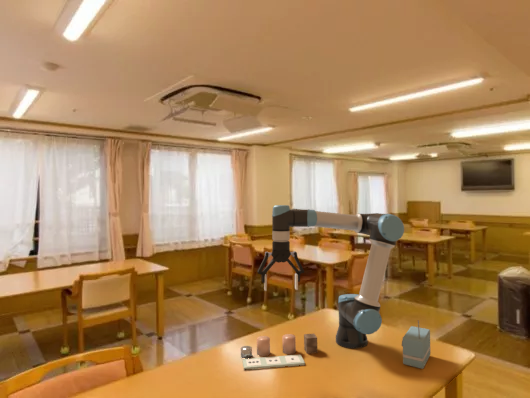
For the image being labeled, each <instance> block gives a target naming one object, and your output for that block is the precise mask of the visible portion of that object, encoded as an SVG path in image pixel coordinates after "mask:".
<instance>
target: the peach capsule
mask: <svg viewBox="0 0 530 398" xmlns="http://www.w3.org/2000/svg"><path fill="white" fill-rule="evenodd" d="M296 343H297V342H296V335H294V334H292V333H286V334H283V335H282V353H283V354H284V355H288V354H289V355H295V354H296V352H297V350H296V346H297V345H296Z"/></svg>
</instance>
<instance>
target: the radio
mask: <svg viewBox="0 0 530 398" xmlns="http://www.w3.org/2000/svg"><path fill="white" fill-rule="evenodd" d="M401 340H402V341H401V347H402V363H403V365H406V366H409V367H413V368H417V369H424V368H425V366H426V364H427V362H428V361H429V358H430V355H431V329H428V328H425V327H423V328H422V327H420V320H417V326H415V325H414V326H413V325H411V326H410V327H409V329H408V330H407V332H406V333H405V334H404V335H403V336H402V339H401Z"/></svg>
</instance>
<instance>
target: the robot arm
mask: <svg viewBox="0 0 530 398" xmlns="http://www.w3.org/2000/svg"><path fill="white" fill-rule="evenodd" d="M271 217H272V221H271V222H272V224H271V225H272V229H271V230H272V231H271V232H272V235H271V236H272V238H271V239H272V244H271V245H272V247H271V248H272V249H271V252H268V251H265V252H264V257H263V260H262V262H261V264H260V265H259V267H258V269H257V274H258V275H261V282H262V283H263V286H264V287H263V289H264V290H263V291H264V292H267V291H268V290H267V288H268V286H267V285H268V283H267V281H268V280H267V278H268V277H267V276H268V275H267V273H268V272H269V271H270V270H271V268H272V267H273V266H274V265H275V264H276V263H286V262H287V263H288V265H289V266H290V267H291V268H292V269H293V270H294V272H295V273H294V289H295V291H298V290H299V283H300V281H301V275H302V274H304V273H305V270H304V268H303V266H302V263H301V261H300V259H299V257H298V253H297V251H295V250H294V251H291V250H290V249H291V248H290V244H291V243H290V241H289V240H290V239H291V236H290V235H291V233H290V229H291V228H295V227H297V228H299V227H300V228H302V227H304V228H305V227H307V228H309V227H310V228H311V227H315V228H324V229H335V230H336V229H337V230H344V231H354V233H356V234H362V235H366V236H369V238H368V240H369V242H370V245H371V246H370V249H369V252H368V257H367V259H366V260H367V261H366V265H365V268H364V272H363V277H362V282H361V285H360V290H359V292H358V293H359V294H357V293H356V294H355V293H347V294H346V293H345V294H341V295H339V296H338V302H337V303H338V304H337V305H338V328H337V330H336V334H335V342H336V344H337V345H339V346H341V347H344V348H346V349H347V348H348V349H362V348H364V347H367V345H368V343H369V342H368V336H367V335H373V334H374V333H377V332H378V330H380V328H381V326H382V322H383V321H382V316H381V313H380V310H381V304H380V302H379V298H380V294H381V291H382V286H383V283H384V282H383V281H384V278H385V274H386V271H387V267H388V262H389V258H390V254H391V251H392V249H393V248H395V247H396V245H397V241H399V240H400V239H401V238H402V237H403V235H404V234H405V226H404V225H405V224H404V223H403V220H402V219H401V218H400V217H398V216H397V215H395V214H391V213H379V212H378V213H377V212H375V213H373V212H372V213H356V214H349V213H348V214H347V213H340V212H339V213H338V212H337V213H336V212H329V211H320V210H319V211H318V210H315V209H299V208H292V209H291V208H290V205H288V204H278V205H277V204H275V205H274V206H273V207H272V214H271ZM270 257H271V258H272V259H271V260H270V262H269V263H267V262H268V259H269V258H270ZM290 257H293V258H294V261H295V262H296V264H297V267H298V268H297V267H296V266H295V265H294V263H293V262H292V261H291V260H290ZM266 263H267V265H266ZM265 265H266V267H265Z"/></svg>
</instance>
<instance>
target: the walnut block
mask: <svg viewBox="0 0 530 398" xmlns="http://www.w3.org/2000/svg"><path fill="white" fill-rule="evenodd" d="M303 345H304V346H303V349H304V351H305V353H306V354H309V355H310V354H318V337H317V336H316V334H315V333H305V334H303Z"/></svg>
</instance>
